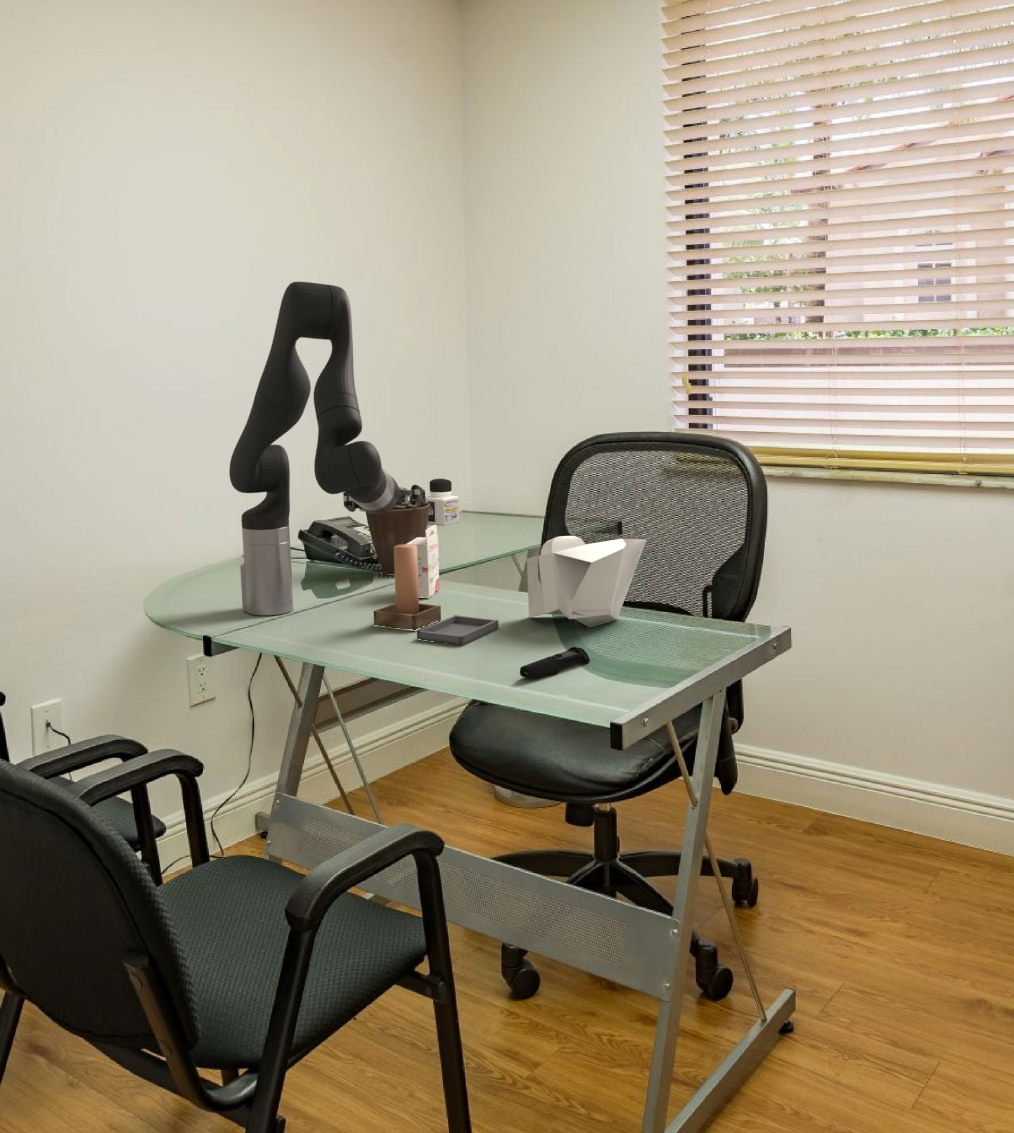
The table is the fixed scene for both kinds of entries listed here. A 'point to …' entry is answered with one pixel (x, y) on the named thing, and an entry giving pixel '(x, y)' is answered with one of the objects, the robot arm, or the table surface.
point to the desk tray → (458, 630)
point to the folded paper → (582, 578)
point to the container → (442, 503)
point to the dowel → (406, 579)
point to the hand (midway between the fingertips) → (392, 506)
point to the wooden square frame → (407, 617)
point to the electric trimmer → (555, 663)
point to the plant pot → (396, 531)
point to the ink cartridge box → (427, 562)
